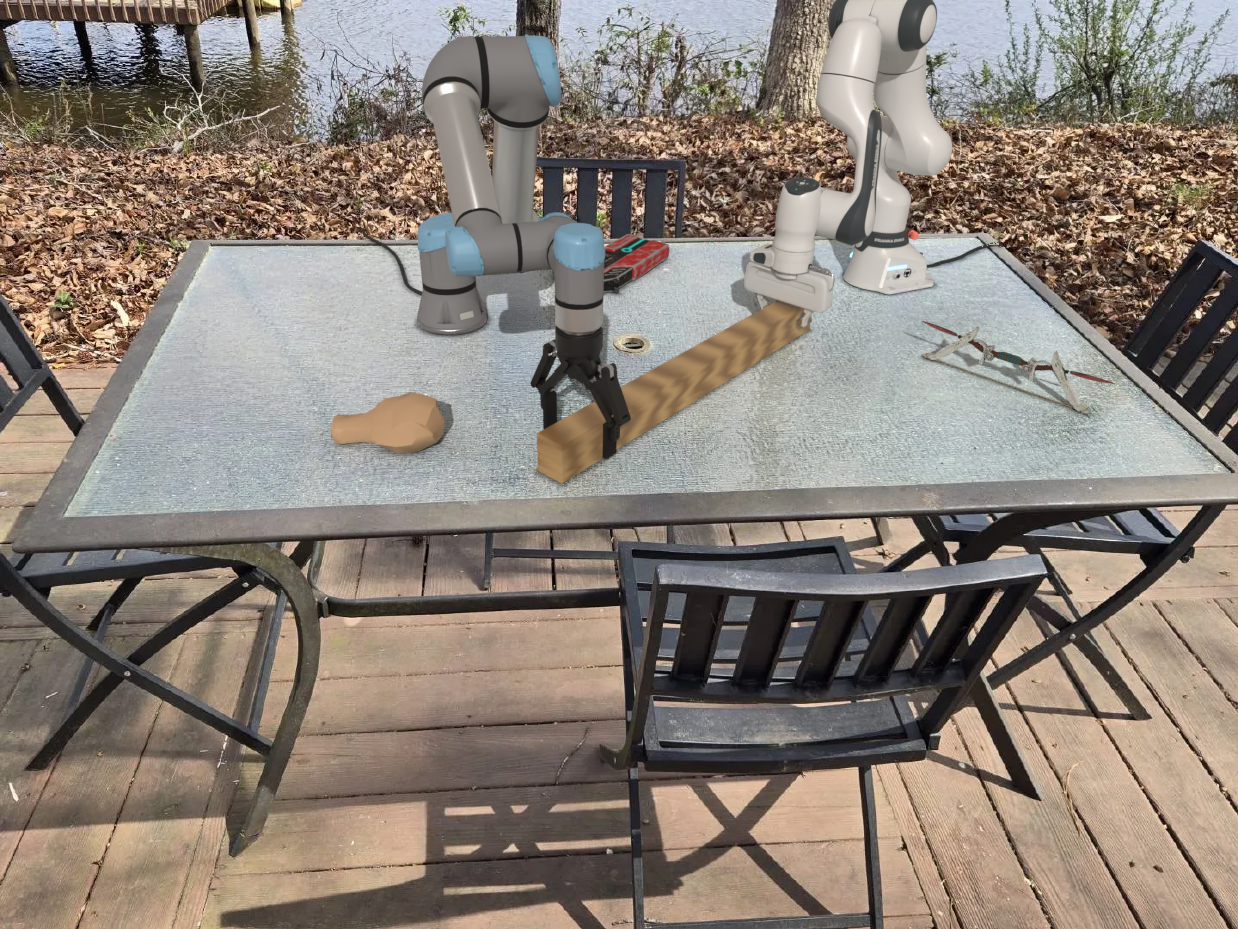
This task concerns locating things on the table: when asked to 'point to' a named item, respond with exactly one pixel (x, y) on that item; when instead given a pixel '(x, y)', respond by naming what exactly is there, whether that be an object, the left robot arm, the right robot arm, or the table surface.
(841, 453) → the table surface
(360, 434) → the squash
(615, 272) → the gun
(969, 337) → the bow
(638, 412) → the bar
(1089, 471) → the table surface
